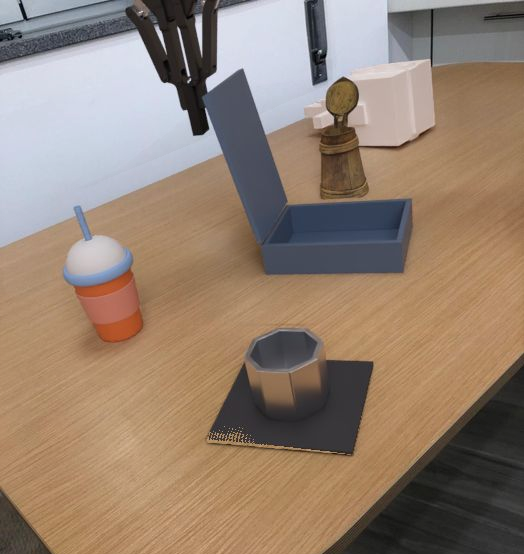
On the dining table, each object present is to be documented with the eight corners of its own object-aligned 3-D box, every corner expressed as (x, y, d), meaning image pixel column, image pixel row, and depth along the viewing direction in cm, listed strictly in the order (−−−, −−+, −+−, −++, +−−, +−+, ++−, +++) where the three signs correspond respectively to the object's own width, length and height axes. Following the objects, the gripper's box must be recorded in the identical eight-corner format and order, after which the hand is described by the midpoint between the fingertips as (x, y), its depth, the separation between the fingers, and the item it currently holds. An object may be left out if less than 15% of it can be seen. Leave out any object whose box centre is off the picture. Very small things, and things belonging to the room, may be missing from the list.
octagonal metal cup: (334, 377, 65) (328, 328, 62) (320, 425, 59) (312, 373, 56) (268, 374, 68) (258, 327, 64) (248, 420, 62) (236, 370, 58)
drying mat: (373, 365, 67) (373, 361, 66) (353, 456, 56) (352, 451, 56) (247, 360, 72) (246, 356, 71) (206, 443, 61) (205, 439, 61)
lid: (243, 67, 85) (238, 69, 86) (207, 95, 74) (201, 97, 74) (288, 201, 95) (283, 202, 96) (262, 242, 84) (257, 243, 85)
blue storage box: (412, 230, 92) (411, 198, 89) (403, 277, 81) (401, 242, 78) (290, 235, 99) (286, 204, 96) (266, 279, 88) (260, 246, 85)
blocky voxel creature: (351, 123, 152) (451, 120, 133) (286, 156, 139) (386, 158, 120) (342, 60, 144) (447, 48, 125) (272, 89, 132) (377, 80, 112)
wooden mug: (375, 172, 116) (368, 72, 105) (364, 200, 105) (356, 92, 95) (329, 175, 118) (319, 78, 108) (315, 203, 108) (302, 98, 98)
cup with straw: (78, 350, 80) (26, 226, 70) (103, 314, 88) (59, 196, 77) (141, 347, 78) (97, 218, 68) (161, 310, 86) (124, 188, 75)
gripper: (95, -56, 71) (149, 144, 84) (195, -77, 67) (236, 137, 80) (124, -60, 77) (170, 128, 90) (218, -80, 72) (252, 120, 86)
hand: (201, 132), depth 85 cm, fingers closed
